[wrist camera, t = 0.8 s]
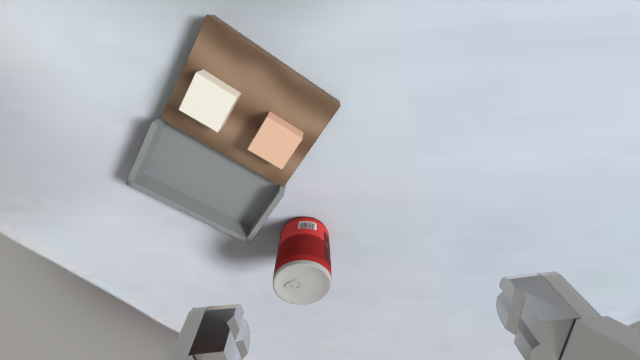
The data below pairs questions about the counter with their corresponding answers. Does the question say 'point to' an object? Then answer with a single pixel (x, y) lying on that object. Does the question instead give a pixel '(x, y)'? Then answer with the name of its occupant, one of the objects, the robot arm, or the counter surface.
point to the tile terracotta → (276, 140)
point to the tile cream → (209, 100)
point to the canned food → (303, 262)
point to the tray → (203, 182)
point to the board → (250, 98)
